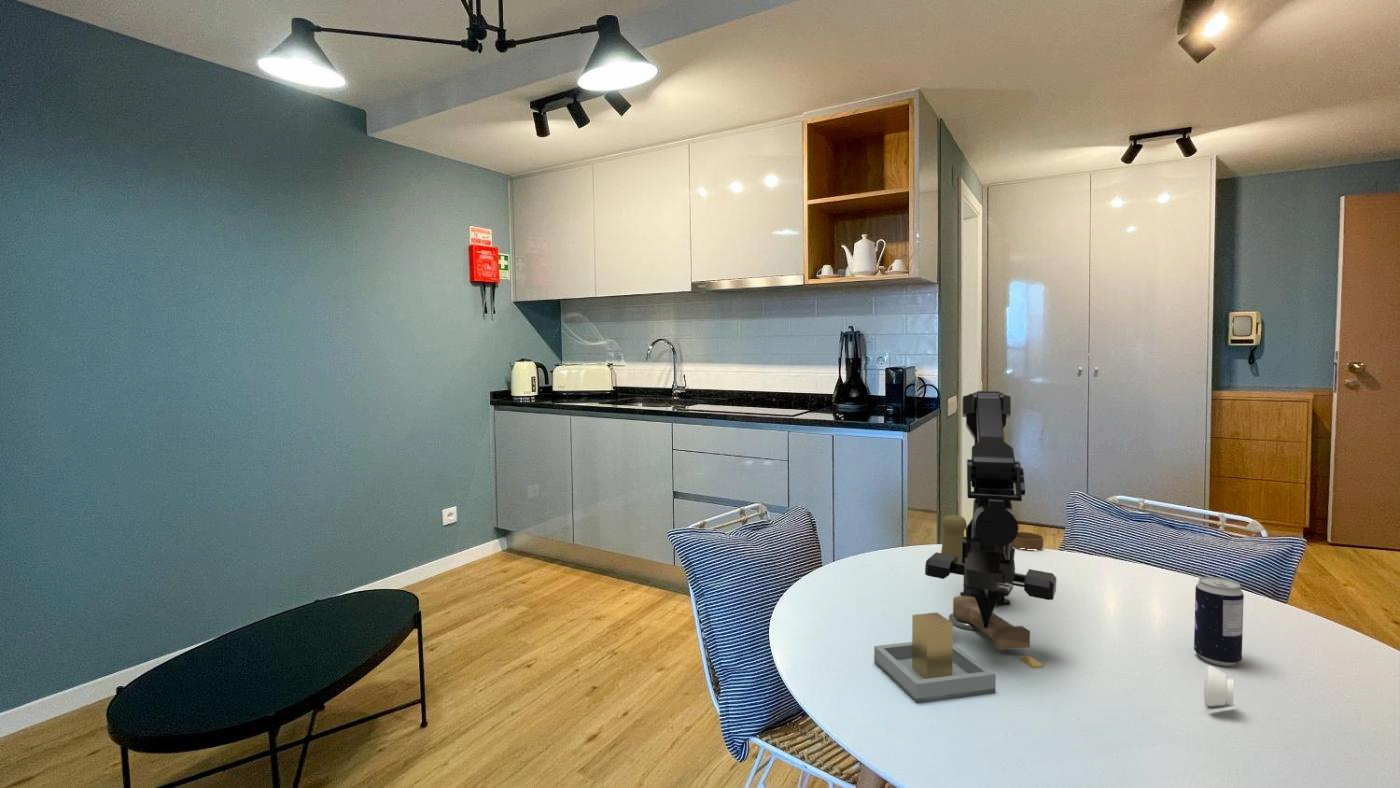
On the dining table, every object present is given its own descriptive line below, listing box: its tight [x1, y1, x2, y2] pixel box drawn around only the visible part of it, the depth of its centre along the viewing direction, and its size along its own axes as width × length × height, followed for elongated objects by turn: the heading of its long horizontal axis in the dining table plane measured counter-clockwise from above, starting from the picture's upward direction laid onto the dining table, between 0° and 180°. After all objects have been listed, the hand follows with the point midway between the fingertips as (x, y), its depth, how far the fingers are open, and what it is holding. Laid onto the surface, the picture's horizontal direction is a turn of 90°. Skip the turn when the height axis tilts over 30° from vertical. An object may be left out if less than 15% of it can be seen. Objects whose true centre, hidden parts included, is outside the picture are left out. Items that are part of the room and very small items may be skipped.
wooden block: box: [911, 612, 954, 679], centre depth 94 cm, size 4×4×8 cm
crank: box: [952, 595, 1031, 650], centre depth 108 cm, size 16×5×3 cm, turn 8°
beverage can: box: [1193, 576, 1245, 667], centre depth 98 cm, size 6×6×12 cm
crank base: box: [948, 612, 1044, 669], centre depth 106 cm, size 6×20×1 cm, turn 12°
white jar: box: [1203, 665, 1235, 707], centre depth 85 cm, size 5×3×5 cm, turn 141°
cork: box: [940, 514, 968, 563], centre depth 146 cm, size 6×6×11 cm
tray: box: [873, 641, 997, 704], centre depth 94 cm, size 12×12×3 cm
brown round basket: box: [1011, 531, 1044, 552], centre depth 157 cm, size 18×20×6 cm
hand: (986, 627), depth 104 cm, fingers closed, pressing on crank
